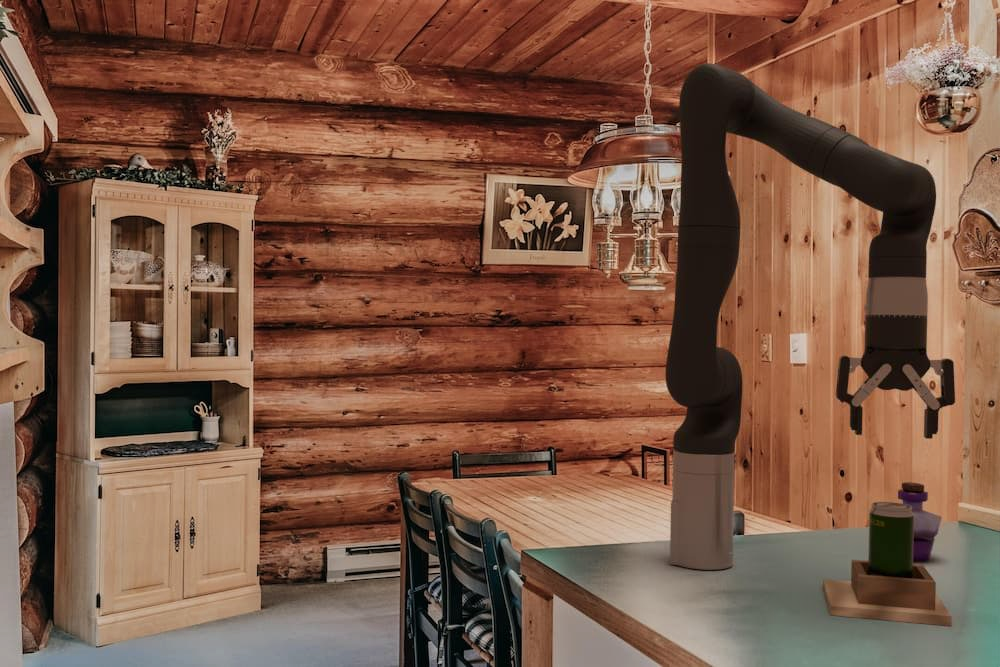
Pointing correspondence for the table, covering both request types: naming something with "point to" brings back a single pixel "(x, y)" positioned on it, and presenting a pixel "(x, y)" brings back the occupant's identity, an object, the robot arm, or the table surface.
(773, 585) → the table surface
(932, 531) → the potion bottle
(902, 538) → the beer can
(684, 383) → the robot arm
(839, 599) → the can caddy
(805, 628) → the table surface
